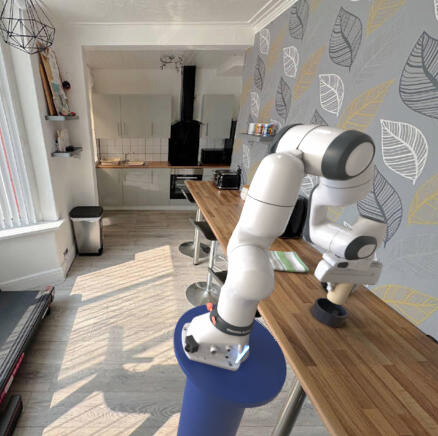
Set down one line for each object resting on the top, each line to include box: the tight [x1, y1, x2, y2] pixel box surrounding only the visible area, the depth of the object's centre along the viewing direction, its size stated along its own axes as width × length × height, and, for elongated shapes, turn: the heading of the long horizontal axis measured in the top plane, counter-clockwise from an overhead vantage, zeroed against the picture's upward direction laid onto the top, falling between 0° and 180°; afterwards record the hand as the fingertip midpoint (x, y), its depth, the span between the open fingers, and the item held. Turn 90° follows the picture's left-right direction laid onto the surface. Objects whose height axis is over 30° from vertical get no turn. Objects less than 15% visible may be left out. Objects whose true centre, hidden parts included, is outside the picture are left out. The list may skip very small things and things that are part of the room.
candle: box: [326, 283, 353, 306], centre depth 87 cm, size 6×6×10 cm
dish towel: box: [269, 250, 310, 274], centre depth 126 cm, size 17×23×4 cm
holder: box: [311, 297, 349, 328], centre depth 91 cm, size 10×10×5 cm
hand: (339, 291), depth 87 cm, fingers closed on candle, 5 cm apart
